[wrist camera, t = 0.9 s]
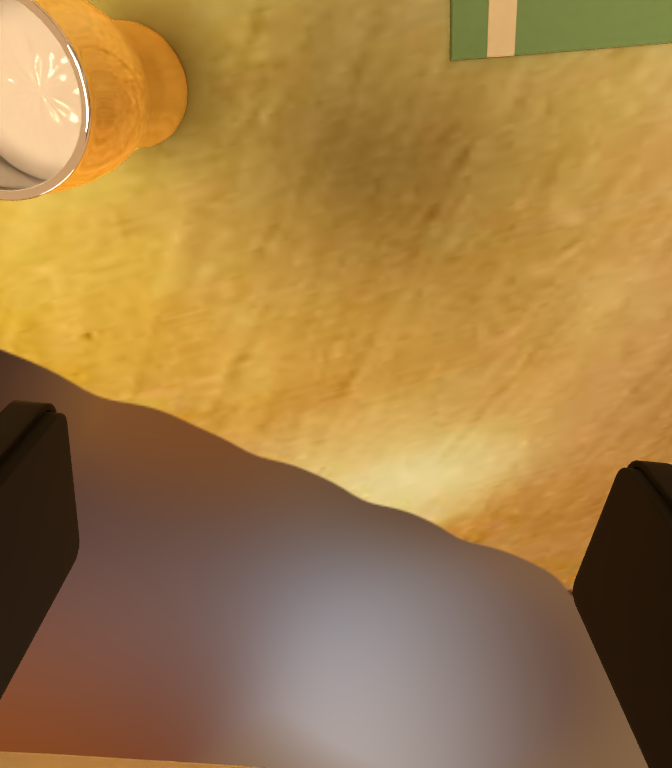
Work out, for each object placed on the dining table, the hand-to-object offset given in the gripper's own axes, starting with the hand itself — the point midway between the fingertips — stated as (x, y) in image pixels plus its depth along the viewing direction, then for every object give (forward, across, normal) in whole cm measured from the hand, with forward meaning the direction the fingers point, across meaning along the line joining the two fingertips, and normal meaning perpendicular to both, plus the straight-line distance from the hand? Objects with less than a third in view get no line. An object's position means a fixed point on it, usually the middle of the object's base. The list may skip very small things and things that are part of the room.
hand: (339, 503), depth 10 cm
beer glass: (+28, +12, -5) cm, 31 cm away
